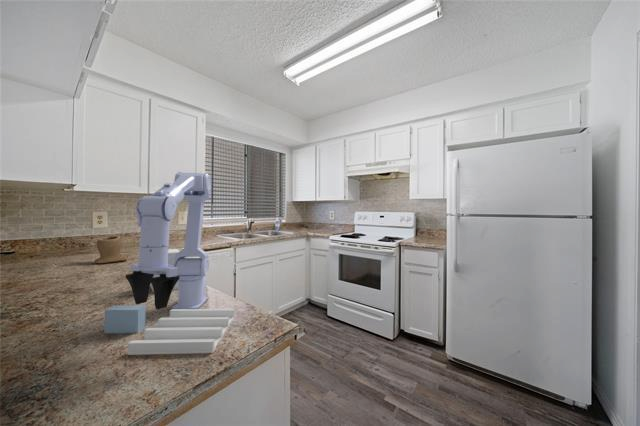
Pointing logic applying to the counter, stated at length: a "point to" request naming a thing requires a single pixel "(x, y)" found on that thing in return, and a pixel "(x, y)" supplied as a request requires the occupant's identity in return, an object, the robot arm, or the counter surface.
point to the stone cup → (110, 250)
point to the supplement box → (171, 259)
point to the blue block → (125, 319)
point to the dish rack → (184, 332)
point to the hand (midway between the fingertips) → (150, 305)
